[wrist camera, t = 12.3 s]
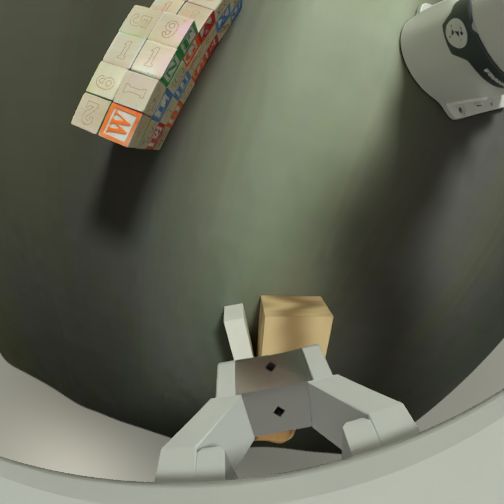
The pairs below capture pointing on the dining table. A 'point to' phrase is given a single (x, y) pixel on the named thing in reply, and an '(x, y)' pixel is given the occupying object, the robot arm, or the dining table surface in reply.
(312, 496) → the robot arm
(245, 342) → the fence board
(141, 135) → the stack of blocks
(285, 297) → the oak block
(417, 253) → the dining table surface
